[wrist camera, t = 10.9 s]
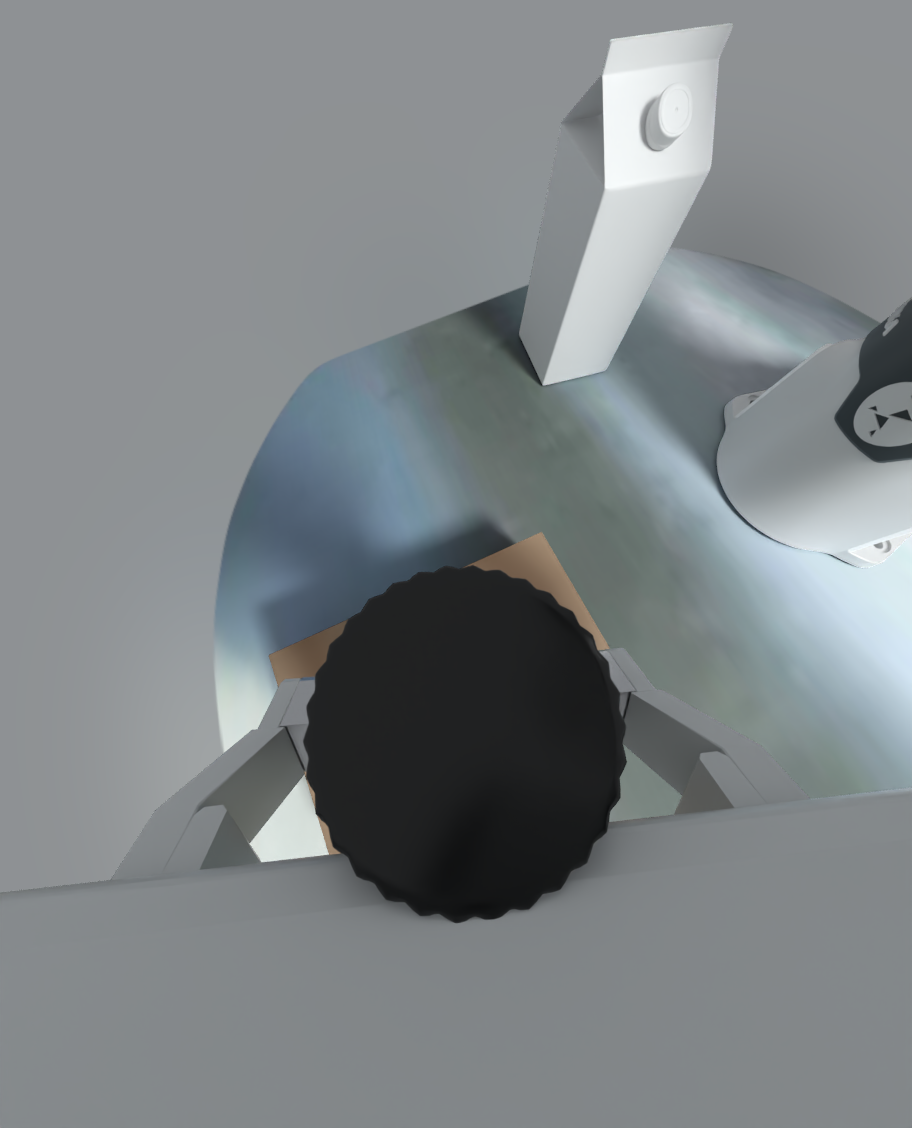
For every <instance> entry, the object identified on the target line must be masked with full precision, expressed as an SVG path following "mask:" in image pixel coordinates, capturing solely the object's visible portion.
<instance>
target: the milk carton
mask: <svg viewBox="0 0 912 1128" xmlns="http://www.w3.org/2000/svg"><path fill="white" fill-rule="evenodd" d="M732 28H733V25H732V23H727V24H720V25H713V26H705V27H698V28H690V29H684V30H676V31H669V32H661V33H654V34H647V35H639V36H632V37H624V38H617V39H611V40H610V42H609V46H608V50H607V54H606V58H605V62H604V66H603V70H602V74H601V76H600V77H599V78H598V79H597V80H596V82H595V83H594V84H593V85H592V86H591V87H590V89H589V90H588V91H587V92H586V93H585V95H584V96H583V97H582V98H581V99H580V101H579V102H578V103H577V104H576V105H575V106H574V108H573V109H572V110H571V111H570V112H569V114H568V115H567V116H566V117H565V118H564V120H563V121H562V122H561V128H560V133H559V137H558V143H557V148H556V152H555V157H554V162H553V168H552V172H551V177H550V183H549V187H548V192H547V198H546V202H545V207H544V212H543V217H542V222H541V227H540V232H539V237H538V242H537V247H536V252H535V257H534V262H533V267H532V272H531V277H530V282H529V286H528V291H527V296H526V301H525V306H524V311H523V316H522V321H521V326H520V331H519V336H520V338H521V340H522V342H523V344H524V347H525V349H526V351H527V353H528V355H529V357H530V359H531V362H532V364H533V366H534V368H535V370H536V372H537V374H538V377H539V379H540V381H541V383H542V385H549V384H553V383H557V382H561V381H566V380H570V379H574V378H578V377H582V376H587V375H591V374H595V373H599V372H603V371H606V370H607V368H608V366H609V364H610V362H611V360H612V358H613V356H614V354H615V352H616V351H617V349H618V347H619V345H620V343H621V341H622V339H623V337H624V335H625V333H626V331H627V329H628V327H629V325H630V323H631V322H632V320H633V318H634V316H635V314H636V312H637V310H638V308H639V306H640V304H641V302H642V300H643V298H644V296H645V294H646V293H647V291H648V289H649V287H650V285H651V283H652V281H653V279H654V277H655V275H656V273H657V271H658V269H659V267H660V266H661V264H662V262H663V260H664V258H665V256H666V254H667V252H668V250H669V248H670V246H671V244H672V242H673V240H674V238H675V236H676V234H677V233H678V231H679V229H680V227H681V225H682V223H683V221H684V219H685V217H686V215H687V213H688V211H689V209H690V207H691V206H692V204H693V202H694V200H695V198H696V196H697V194H698V192H699V190H700V188H701V186H702V184H703V182H704V180H705V178H706V176H707V174H708V172H709V170H710V168H711V163H712V150H713V136H714V121H715V108H716V93H717V80H718V66H719V57H720V55H721V52H722V50H723V48H724V46H725V44H726V41H727V39H728V37H729V34H730V32H731V30H732Z"/></svg>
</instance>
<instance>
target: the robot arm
mask: <svg viewBox="0 0 912 1128" xmlns="http://www.w3.org/2000/svg"><path fill="white" fill-rule="evenodd" d="M724 417H725V425H726V429H725V433H724V435H723V438H722V440H721V442H720V445H719V448H718V452H717V470H718V475H719V479H720V482H721V485H722V487H723V489H724V491H725V493H726V495H727V497H728V499H729V500H730V502H731V503H732V504H733V506H734V507H735V508H736V510H737V511H738V512H739V513H740V514H741V515H742V516H743V517H744V518H745V519H746V520H747V521H748V522H749V523H750V524H751V525H753V526H754V527H755V528H757V529H758V530H759V531H761V532H762V533H764V534H765V535H767V536H769V537H771V538H773V539H774V540H776V541H779V542H781V543H783V544H786V545H789V546H792V547H795V548H799V549H803V550H809V551H816V552H823V553H827V554H831V555H833V556H835V557H837V558H839V559H841V560H843V561H845V562H847V563H849V564H852V565H854V566H857V567H860V568H869V567H872V566H875V565H878V564H881V563H883V562H884V561H885V560H886V559H887V558H888V557H889V556H890V555H891V554H892V553H893V552H894V551H895V550H896V549H897V548H898V547H899V546H900V545H901V544H902V543H903V542H904V541H905V540H907V539H908V538H909V537H910V536H911V535H912V297H911V298H910V299H909V300H907V301H906V302H905V303H903V304H902V305H901V306H900V307H898V308H897V309H896V310H895V311H894V312H893V313H892V314H891V316H890V317H888V318H887V319H886V320H885V321H883V322H882V323H881V324H880V325H878V326H877V327H876V328H875V329H873V330H872V331H871V332H870V333H869V334H868V335H867V337H864V338H860V339H850V340H844V341H840V342H838V343H835V344H830V343H829V344H826V345H824V346H822V347H821V348H819V349H818V350H816V351H815V352H814V353H813V354H811V355H810V356H809V357H808V358H806V359H805V360H804V361H803V362H801V363H800V364H799V365H798V366H796V367H795V368H794V369H793V370H791V371H790V372H789V373H788V374H787V375H785V376H784V377H783V378H782V379H780V380H779V381H778V382H777V383H775V384H774V385H773V386H772V387H771V388H769V389H768V390H763V391H758V392H753V393H748V394H743V395H739V396H737V397H735V398H734V399H732V400H731V401H730V402H729V403H727V404H726V406H725V409H724ZM598 651H599V652H600V653H601V654H602V655H603V656H604V657H605V658H606V660H607V661H608V662H609V667H610V677H611V680H612V681H613V682H614V684H615V685H616V687H617V689H618V690H619V692H620V704H619V710H620V712H621V715H622V717H623V719H624V722H625V724H626V731H625V736H624V738H623V743H622V744H624V745H625V746H626V747H627V748H628V749H629V750H631V751H632V752H633V753H634V754H635V755H636V756H637V757H639V758H640V759H641V760H642V761H643V762H644V763H645V764H647V765H648V766H649V767H650V768H651V769H652V770H653V771H655V772H656V773H657V774H658V775H659V776H660V777H662V778H663V779H664V780H665V781H666V782H667V783H668V784H670V785H671V786H672V787H673V788H674V789H675V790H676V791H678V792H679V793H680V794H681V795H682V797H681V799H680V802H679V804H678V806H677V808H676V811H675V813H674V815H668V816H659V817H651V818H642V819H633V820H625V821H616V822H609V824H608V830H607V833H606V834H605V835H604V836H603V837H602V838H600V839H598V840H597V841H596V842H595V843H594V844H593V847H592V851H591V854H590V857H589V859H588V862H587V864H585V865H583V866H582V867H580V868H577V869H575V870H573V871H571V873H570V875H569V876H568V878H567V880H566V882H565V884H564V885H563V887H562V888H561V890H558V891H555V892H552V893H546V894H542V896H541V897H540V898H539V899H538V901H537V902H536V903H535V904H534V905H533V906H532V907H531V908H530V909H529V910H516V909H512V910H509V911H508V912H507V913H506V914H504V915H503V916H502V917H500V918H497V919H494V920H484V919H482V918H479V917H473V918H470V919H468V920H467V921H465V922H461V923H454V922H452V921H450V920H448V919H446V918H445V917H443V916H441V915H440V914H433V915H431V916H419V915H418V914H417V913H415V912H414V911H413V910H412V909H411V908H410V907H409V906H408V905H407V904H406V903H405V902H393V901H388V900H386V899H385V898H384V897H383V896H382V894H381V893H380V892H379V890H378V889H377V887H376V885H375V884H374V883H372V882H370V881H365V880H363V879H361V878H358V877H357V876H356V874H355V872H354V870H353V869H352V866H351V864H350V861H349V859H348V857H347V856H345V855H344V854H342V853H340V854H331V855H323V856H314V857H305V858H297V859H288V860H279V861H271V862H262V863H261V861H260V859H259V857H258V856H257V854H256V853H255V851H254V850H253V848H252V847H251V845H250V844H249V843H250V842H251V841H252V840H253V838H254V837H255V836H256V835H257V833H258V832H259V831H260V830H261V828H262V827H263V826H264V824H265V823H266V822H267V821H268V819H269V818H270V817H271V816H272V814H273V813H274V812H275V811H276V809H277V808H278V807H279V806H280V804H281V803H282V802H283V800H284V799H285V798H286V797H287V795H288V794H289V793H290V792H291V790H292V789H293V788H294V787H295V785H296V784H297V783H298V782H299V780H300V779H301V778H302V777H303V775H304V774H305V773H304V772H306V771H307V764H308V759H309V758H308V755H307V752H306V750H305V747H304V744H303V739H304V736H305V732H306V730H307V727H308V724H309V721H308V716H307V710H306V706H307V704H308V702H309V700H310V698H311V696H312V695H313V693H314V691H315V677H303V678H294V679H285V680H284V681H282V682H281V683H280V685H279V687H278V689H277V691H276V693H275V695H274V697H273V699H272V701H271V703H270V705H269V707H268V709H267V711H266V713H265V715H264V717H263V719H262V721H261V723H260V725H259V727H258V729H256V730H251V731H250V732H249V733H248V734H246V735H245V736H244V737H243V738H242V739H240V740H239V741H238V742H237V743H236V744H234V745H233V746H232V747H231V748H230V749H228V750H227V751H226V752H225V753H224V754H222V755H221V756H220V757H219V758H218V759H216V760H215V761H214V762H213V763H212V764H210V765H209V766H208V767H207V768H206V769H204V770H203V771H202V772H201V773H199V774H198V775H197V776H196V777H195V778H193V779H192V780H191V781H190V782H189V783H187V784H186V785H185V786H184V787H183V788H181V789H180V790H179V791H178V792H177V793H175V794H174V795H173V796H172V797H171V798H169V799H168V800H167V801H166V802H165V803H163V804H162V805H161V806H160V807H159V808H158V809H156V810H155V812H154V813H153V815H152V816H151V818H150V819H149V821H148V822H147V824H146V825H145V827H144V829H143V830H142V832H141V833H140V835H139V836H138V838H137V839H136V841H135V842H134V844H133V846H132V847H131V849H130V850H129V852H128V853H127V855H126V857H125V858H124V860H123V861H122V863H121V864H120V866H119V867H118V869H117V871H116V872H115V874H114V875H113V877H112V878H111V880H106V881H98V882H90V883H80V884H72V885H63V886H54V887H45V888H37V889H28V890H19V891H10V892H2V893H0V1128H912V787H909V788H901V789H892V790H883V791H875V792H866V793H857V794H849V795H840V796H832V797H823V798H814V799H810V798H809V796H808V795H807V794H806V793H805V792H804V791H803V790H802V789H801V788H800V787H799V786H798V785H797V784H796V782H795V781H794V780H793V779H792V778H791V777H790V776H789V775H788V774H787V773H786V772H785V771H784V770H783V768H782V767H781V766H780V765H779V764H778V763H777V762H776V761H775V760H774V759H773V758H772V757H771V756H770V754H769V753H768V752H767V751H766V750H765V749H764V748H763V747H762V746H761V745H759V744H758V743H756V742H754V741H752V740H751V739H749V738H747V737H745V736H743V735H742V734H740V733H738V732H736V731H735V730H733V729H731V728H729V727H727V726H726V725H724V724H722V723H720V722H719V721H717V720H715V719H713V718H711V717H710V716H708V715H706V714H704V713H703V712H701V711H699V710H697V709H695V708H694V707H692V706H690V705H688V704H687V703H685V702H683V701H681V700H679V699H678V698H676V697H674V696H672V695H671V694H669V693H667V692H665V691H663V690H662V689H659V690H656V689H655V688H654V686H653V685H652V684H651V682H650V681H649V680H648V679H647V677H646V676H645V675H644V673H643V672H642V671H641V669H640V668H639V667H638V666H637V664H636V663H635V662H634V660H633V659H632V658H631V656H630V655H629V654H628V652H627V651H626V650H625V649H623V648H613V649H605V650H598Z"/></svg>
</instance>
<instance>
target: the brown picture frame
mask: <svg viewBox="0 0 912 1128" xmlns="http://www.w3.org/2000/svg"><path fill="white" fill-rule="evenodd" d="M471 565H474V566H477V567H479V568H481V569H482V570H485V571H488V570H501V571H503V572H505V573H506V574H507V575H508V576H510V577H512V578H523V579H527V580H528V581H529V582H530V583H531V584H532V585H533V586H534V587H535V588H536V589H539V590H543V591H546V592H549V593H551V594H552V595H553V596H554V598H555V599H556V600H557V602H558V603H559V605H561V606H563V607H565V608H567V609H569V610H571V611H573V612H574V614H575V616H576V618H577V620H578V622H579V624H580V626H582V627H583V628H585V629H586V630H587V631H589V632H590V633H591V634H592V635H593V637H594V640H595V643H596V646H597V650H605V649H610V648H609V646H608V645H607V643H606V641H605V639H604V638H603V636H602V634H601V633H600V631H599V629H598V627H597V626H596V624H595V622H594V621H593V619H592V617H591V615H590V614H589V612H588V610H587V609H586V607H585V605H584V604H583V602H582V600H581V598H580V597H579V595H578V593H577V592H576V590H575V588H574V586H573V585H572V583H571V581H570V580H569V578H568V576H567V574H566V573H565V571H564V569H563V568H562V566H561V564H560V562H559V561H558V559H557V557H556V556H555V554H554V552H553V551H552V549H551V547H550V545H549V544H548V542H547V540H546V539H545V537H544V535H543V533H542V532H541V533H538V534H536V535H534V536H532V537H530V538H527V539H525V540H523V541H521V542H518V543H516V544H514V545H512V546H510V547H507V548H505V549H503V550H501V551H499V552H496V553H494V554H492V555H490V556H487V557H485V558H483V559H481V560H479V561H476V562H474V563H472V564H470V565H467V566H471ZM467 566H465V567H467ZM463 568H464V567H463ZM346 622H347V620H345V621H343V622H341V623H339V624H337V625H334V626H332V627H330V628H328V629H326V630H323V631H321V632H319V633H317V634H314V635H312V636H310V637H308V638H306V639H303V640H301V641H299V642H297V643H294V644H292V645H290V646H288V647H286V648H283V649H281V650H279V651H277V652H274V653H272V654H270V655H269V658H270V661H271V665H272V668H273V671H274V675H275V678H276V681H277V684H278V687H279V685H280V683H281V682H282V681H284V680H285V679H294V678H303V677H315V674H316V672H317V671H318V670H319V668H320V667H321V666H322V665H323V664H324V662H325V661H326V658H327V652H328V648H329V645H330V644H331V643H332V642H333V641H334V640H335V639H336V638H338V637H339V636H340V635H341V634H342V633H343V630H344V627H345V624H346ZM304 773H305V777H306V772H304ZM306 780H307V779H306ZM307 783H308V781H307ZM308 786H309V790H310V793H311V796H312V800H313V803H314V806H315V793H314V791H313V790H312V788H311V787H310V785H309V783H308ZM318 819H319V823H320V826H321V829H322V833H323V836H324V839H325V842H326V846H327V849H328V852H329V855H331V854H340V852H338V851H337V850H336V849H334V848H333V846H332V842H331V839H330V834H329V829H328V826H327V825H326V824H325V823H324V822H323V821H321V819H320V818H319V817H318Z"/></svg>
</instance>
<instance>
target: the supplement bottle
mask: <svg viewBox="0 0 912 1128" xmlns="http://www.w3.org/2000/svg"><path fill="white" fill-rule="evenodd" d="M619 704H620V692H619V690H618V689H617V687H616V685H615V684H614V682H613V681H612V680H611V677H610V667H609V662H608V661H607V660H606V658H605V657H604V656H603V655H602V654H601V653H600V652H599V651H598V650H597V646H596V643H595V640H594V637H593V635H592V634H591V633H590V632H589V631H587V630H586V629H585V628H583V627H582V626H580V624H579V622H578V620H577V618H576V616H575V614H574V612H573V611H571V610H569V609H567V608H565V607H563V606H561V605H559V603H558V602H557V600H556V599H555V598H554V596H553V595H552V594H551V593H549V592H546V591H543V590H539V589H536V588H535V587H534V586H533V585H532V584H531V583H530V582H529V581H528V580H527V579H523V578H512V577H510V576H508V575H507V574H506V573H505V572H503V571H501V570H488V571H485V570H482V569H481V568H479V567H477V566H474V565H471V566H467V567H464V568H461V569H458V568H454V567H449V566H444V567H442V568H440V569H438V570H437V571H435V572H418V573H417V574H416V575H414V576H413V577H412V578H411V579H410V580H408V581H403V582H397V583H393V584H392V585H391V586H390V587H389V588H388V589H387V591H386V592H385V593H384V594H382V595H379V596H376V597H373V598H371V599H369V600H368V602H367V603H366V604H365V606H364V608H363V609H362V611H361V612H360V613H358V614H356V615H354V616H353V617H351V618H350V619H348V620H347V622H346V624H345V627H344V630H343V633H342V634H341V635H340V636H339V637H338V638H336V639H335V640H334V641H333V642H332V643H331V644H330V645H329V648H328V652H327V658H326V661H325V662H324V664H323V665H322V666H321V667H320V668H319V670H318V671H317V672H316V674H315V691H314V693H313V695H312V696H311V698H310V700H309V702H308V704H307V706H306V710H307V716H308V721H309V724H308V727H307V730H306V732H305V736H304V739H303V744H304V747H305V750H306V752H307V755H308V758H309V759H308V764H307V771H306V779H307V781H308V783H309V785H310V787H311V788H312V790H313V791H314V793H315V810H316V815H317V816H318V817H319V818H320V819H321V821H323V822H324V823H325V824H326V825H327V826H328V829H329V834H330V839H331V842H332V846H333V848H334V849H336V850H337V851H338V852H340V853H342V854H344V855H345V856H347V857H348V859H349V861H350V864H351V866H352V869H353V870H354V872H355V874H356V876H357V877H358V878H361V879H363V880H365V881H370V882H372V883H374V884H375V885H376V887H377V889H378V890H379V892H380V893H381V894H382V896H383V897H384V898H385V899H386V900H388V901H393V902H405V903H406V904H407V905H408V906H409V907H410V908H411V909H412V910H413V911H414V912H415V913H417V914H418V915H419V916H431V915H433V914H440V915H441V916H443V917H445V918H446V919H448V920H450V921H452V922H454V923H461V922H465V921H467V920H468V919H470V918H473V917H479V918H482V919H484V920H494V919H497V918H500V917H502V916H503V915H504V914H506V913H507V912H508V911H509V910H512V909H516V910H529V909H530V908H531V907H532V906H533V905H534V904H535V903H536V902H537V901H538V899H539V898H540V897H541V896H542V894H546V893H552V892H555V891H558V890H561V888H562V887H563V885H564V884H565V882H566V880H567V878H568V876H569V875H570V873H571V871H573V870H575V869H577V868H580V867H582V866H583V865H585V864H587V862H588V859H589V857H590V854H591V851H592V847H593V844H594V843H595V842H596V841H597V840H598V839H600V838H602V837H603V836H604V835H605V834H606V833H607V830H608V824H609V815H610V811H611V809H612V808H613V807H614V806H615V805H616V804H617V802H618V801H619V799H620V779H619V778H620V776H621V774H622V772H623V770H624V767H625V765H626V762H627V761H626V756H625V751H624V748H623V744H622V743H623V738H624V736H625V731H626V724H625V722H624V719H623V717H622V715H621V712H620V710H619Z"/></svg>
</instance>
